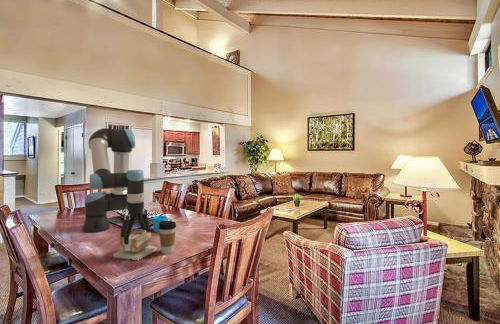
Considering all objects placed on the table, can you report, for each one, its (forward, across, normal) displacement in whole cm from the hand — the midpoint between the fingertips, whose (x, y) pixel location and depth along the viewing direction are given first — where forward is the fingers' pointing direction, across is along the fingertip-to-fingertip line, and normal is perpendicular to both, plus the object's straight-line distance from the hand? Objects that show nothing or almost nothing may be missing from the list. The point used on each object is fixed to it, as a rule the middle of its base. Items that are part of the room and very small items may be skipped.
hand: (136, 246), depth 127 cm
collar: (0, 0, 0) cm, 0 cm away
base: (+3, 0, 0) cm, 3 cm away
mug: (+4, +36, +10) cm, 38 cm away
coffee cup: (+4, +6, -14) cm, 15 cm away
